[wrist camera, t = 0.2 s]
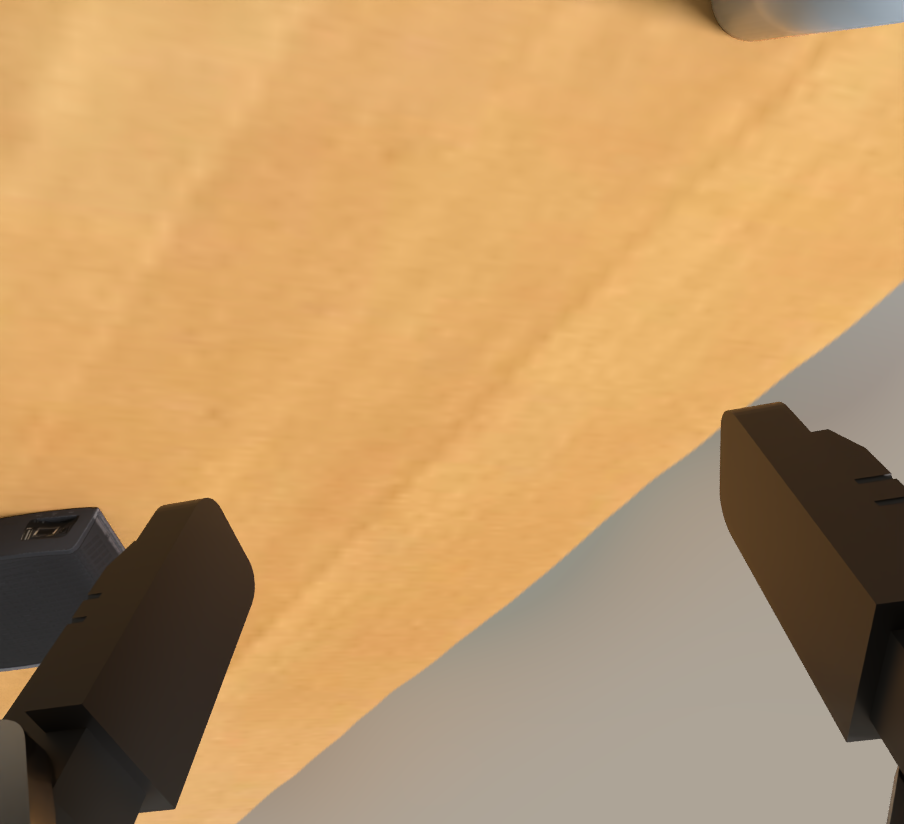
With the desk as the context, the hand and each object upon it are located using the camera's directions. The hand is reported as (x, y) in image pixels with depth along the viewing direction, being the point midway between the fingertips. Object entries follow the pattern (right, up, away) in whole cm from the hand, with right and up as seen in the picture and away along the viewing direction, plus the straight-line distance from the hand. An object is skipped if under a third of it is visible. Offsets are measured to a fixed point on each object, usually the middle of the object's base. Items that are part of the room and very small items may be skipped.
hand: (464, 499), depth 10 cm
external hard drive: (-35, -12, +40) cm, 54 cm away
